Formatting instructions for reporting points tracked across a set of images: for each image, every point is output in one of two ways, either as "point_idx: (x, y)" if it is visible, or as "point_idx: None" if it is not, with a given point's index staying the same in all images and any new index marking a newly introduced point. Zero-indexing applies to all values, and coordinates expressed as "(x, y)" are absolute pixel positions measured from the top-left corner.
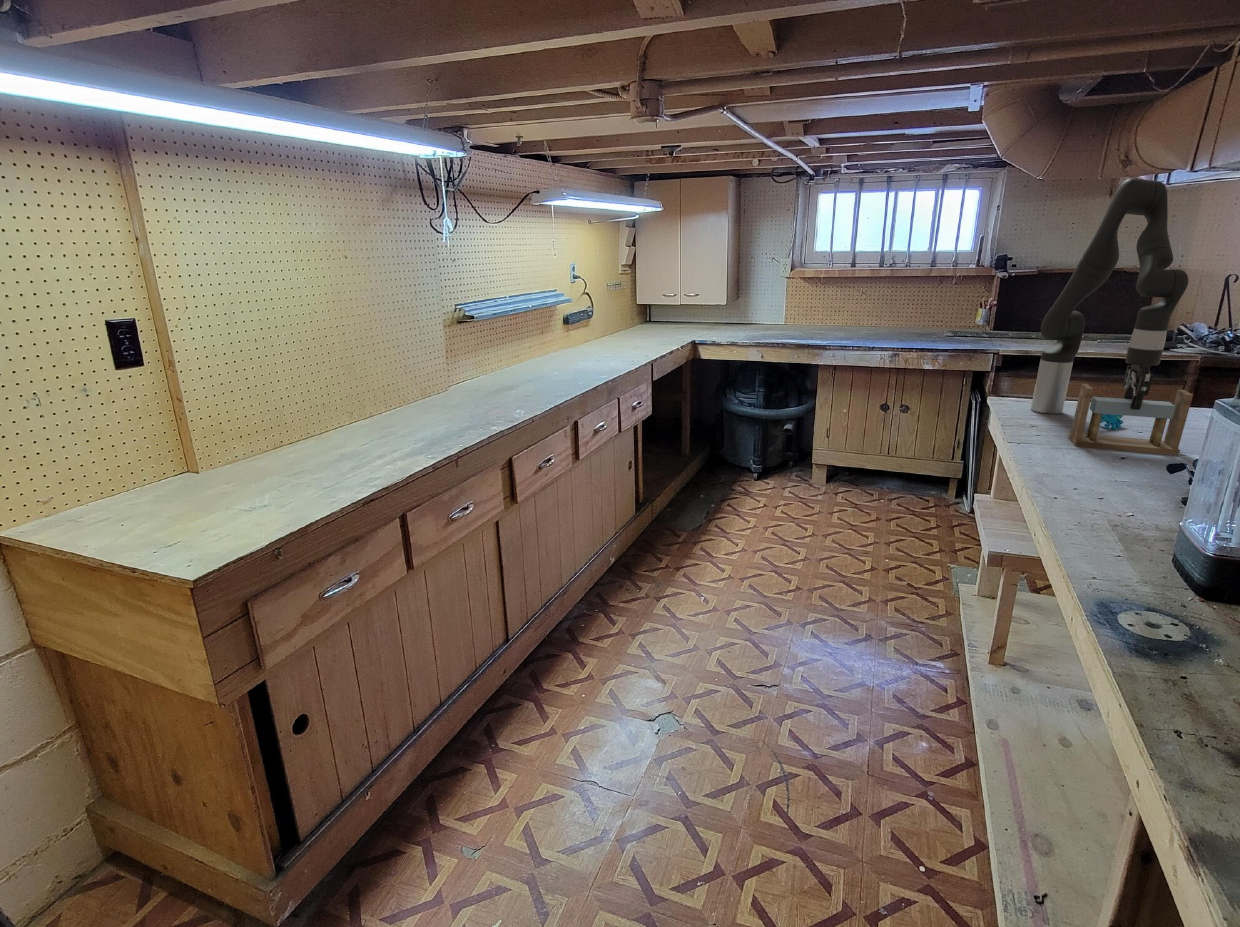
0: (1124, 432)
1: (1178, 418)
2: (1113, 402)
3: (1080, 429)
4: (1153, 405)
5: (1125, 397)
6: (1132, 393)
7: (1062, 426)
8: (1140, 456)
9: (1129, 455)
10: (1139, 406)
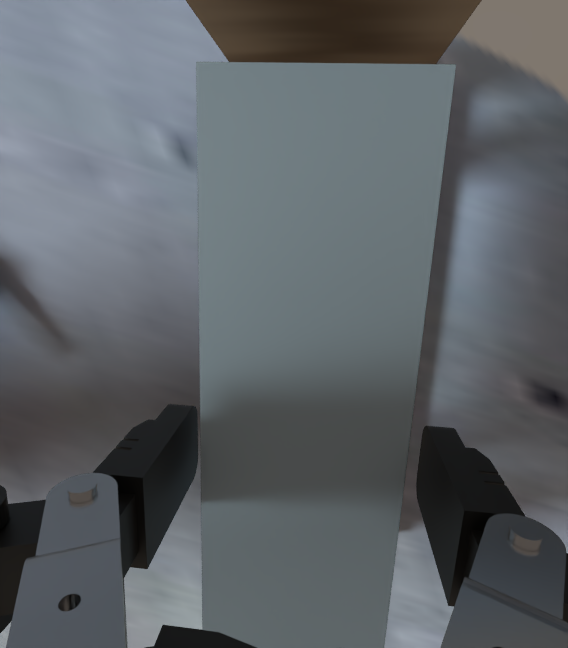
0: (11, 222)
1: (421, 43)
2: (384, 641)
3: None
4: (419, 313)
5: (177, 504)
6: (155, 486)
7: (24, 481)
8: (498, 300)
9: (490, 348)
10: (489, 466)
